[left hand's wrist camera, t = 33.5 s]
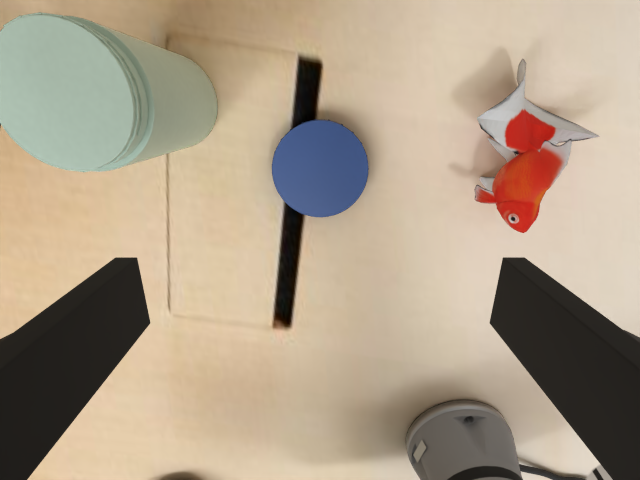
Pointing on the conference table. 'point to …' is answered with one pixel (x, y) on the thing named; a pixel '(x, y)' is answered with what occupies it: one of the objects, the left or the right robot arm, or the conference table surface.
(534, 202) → the fish
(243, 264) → the conference table surface
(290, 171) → the lid
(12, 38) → the jar
